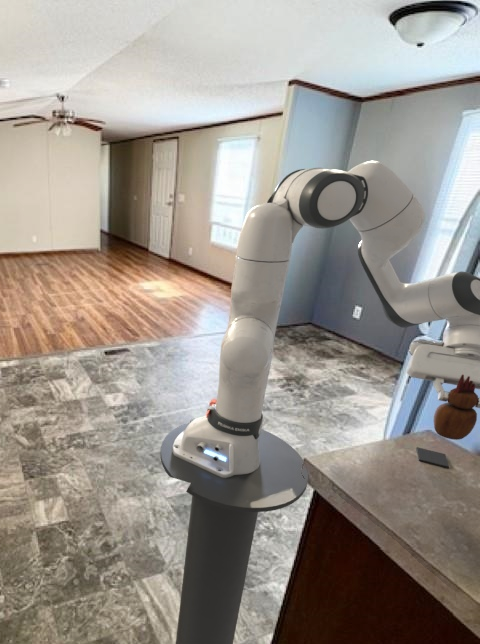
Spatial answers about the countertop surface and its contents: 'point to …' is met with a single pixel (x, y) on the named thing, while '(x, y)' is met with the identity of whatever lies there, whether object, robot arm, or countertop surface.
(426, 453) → the coaster
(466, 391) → the wooden figurine
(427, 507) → the countertop surface
